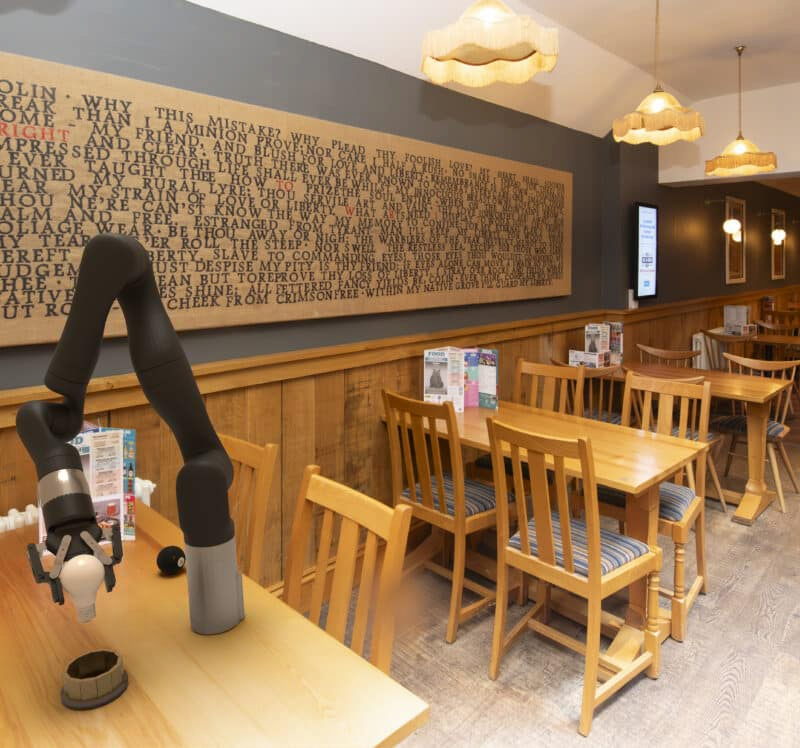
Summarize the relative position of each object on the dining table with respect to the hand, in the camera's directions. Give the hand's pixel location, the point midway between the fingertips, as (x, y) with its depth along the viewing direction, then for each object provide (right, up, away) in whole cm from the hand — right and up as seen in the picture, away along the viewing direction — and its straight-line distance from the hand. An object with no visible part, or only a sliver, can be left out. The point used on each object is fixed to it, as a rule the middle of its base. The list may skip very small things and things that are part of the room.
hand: (86, 596), depth 102 cm
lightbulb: (-1, -5, +2) cm, 5 cm away
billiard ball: (-2, -10, +45) cm, 46 cm away
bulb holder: (0, -17, +4) cm, 17 cm away
